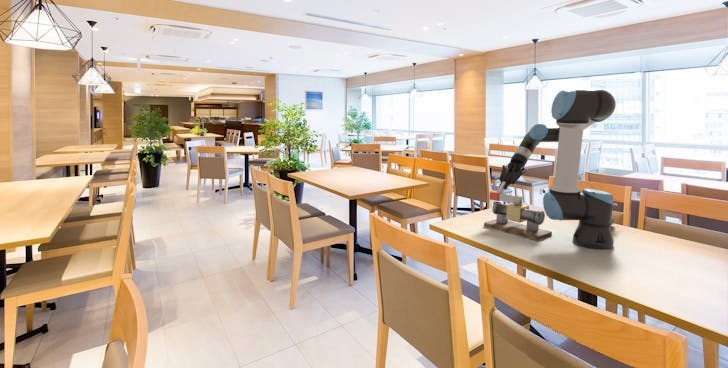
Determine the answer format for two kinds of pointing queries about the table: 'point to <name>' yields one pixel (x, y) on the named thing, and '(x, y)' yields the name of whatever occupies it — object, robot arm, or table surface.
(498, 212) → the pipe and valve body
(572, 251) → the table surface
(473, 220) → the table surface
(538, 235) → the walnut base board
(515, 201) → the valve lever
